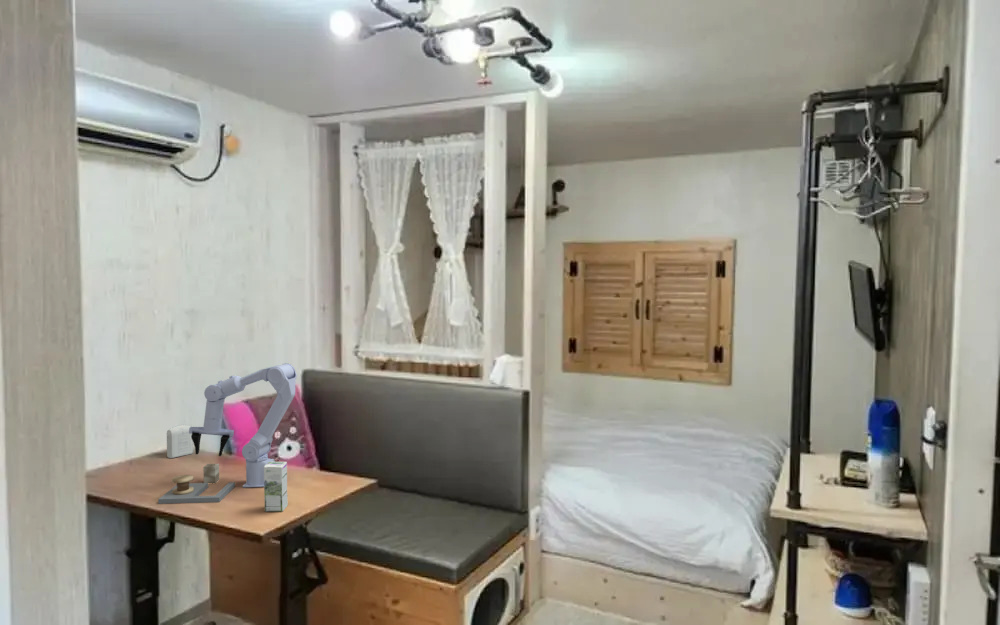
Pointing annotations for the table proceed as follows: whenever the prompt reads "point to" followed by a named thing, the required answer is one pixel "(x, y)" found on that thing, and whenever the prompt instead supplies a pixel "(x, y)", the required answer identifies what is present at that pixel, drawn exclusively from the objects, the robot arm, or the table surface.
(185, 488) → the spool
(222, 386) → the robot arm
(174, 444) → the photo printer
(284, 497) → the syrup box
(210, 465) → the block
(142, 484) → the table surface
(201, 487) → the notched board
